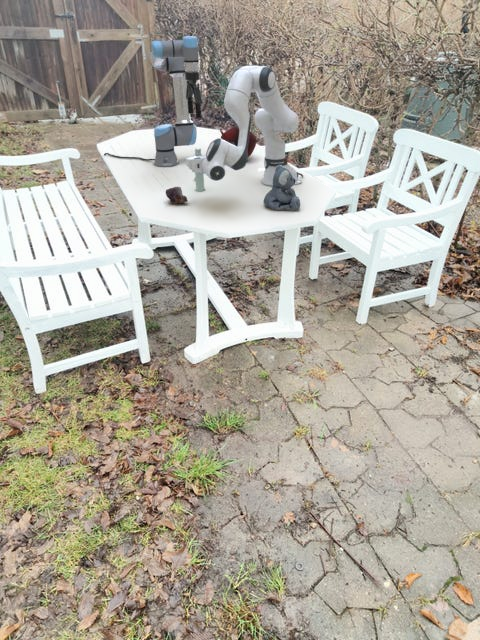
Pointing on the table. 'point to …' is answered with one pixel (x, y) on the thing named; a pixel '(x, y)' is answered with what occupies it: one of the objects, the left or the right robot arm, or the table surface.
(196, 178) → the bottle
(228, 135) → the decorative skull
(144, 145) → the table surface
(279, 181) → the koala plush
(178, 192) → the rock
